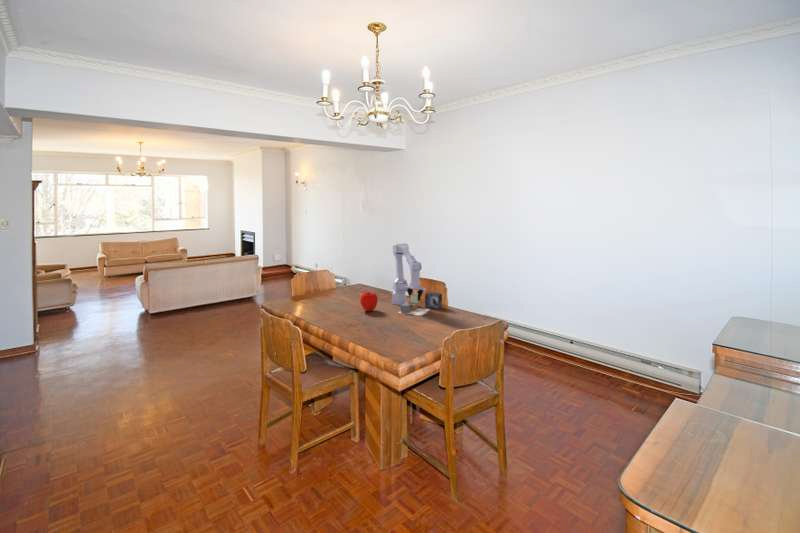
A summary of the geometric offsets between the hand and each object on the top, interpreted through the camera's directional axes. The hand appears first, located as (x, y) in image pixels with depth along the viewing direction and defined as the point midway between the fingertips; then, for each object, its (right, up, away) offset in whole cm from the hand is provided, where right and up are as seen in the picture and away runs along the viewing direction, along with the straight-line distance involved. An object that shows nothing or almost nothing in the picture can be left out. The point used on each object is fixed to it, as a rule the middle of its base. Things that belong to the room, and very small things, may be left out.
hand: (415, 300), depth 267 cm
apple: (-31, -8, +4) cm, 32 cm away
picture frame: (+13, -7, +12) cm, 19 cm away
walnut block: (-2, -7, +7) cm, 10 cm away
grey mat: (0, -8, +3) cm, 8 cm away
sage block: (0, -1, 0) cm, 1 cm away
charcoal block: (-6, -8, 0) cm, 10 cm away
